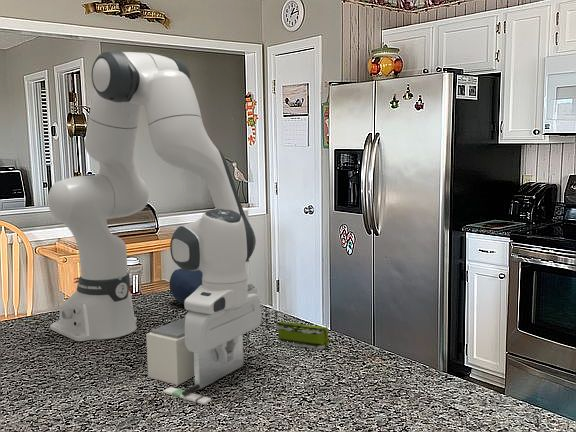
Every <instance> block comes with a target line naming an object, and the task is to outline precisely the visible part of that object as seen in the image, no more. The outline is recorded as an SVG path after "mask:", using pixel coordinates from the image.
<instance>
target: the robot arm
mask: <svg viewBox="0 0 576 432" xmlns="http://www.w3.org/2000/svg"><path fill="white" fill-rule="evenodd" d="M91 82H92V86H93V88H94V93H93V97H92V100H91V105H90V110H89V112H88V113H89V115H88V120H87V126H86V133H85V140H84V148H85V150H86V152H87V154H88V155H89V157H91V158H92V159H93V160H94V161H96V162H98V164H99V171H98V174H93V175H92V174H91V175H78V176H72V177H67V178H65V179H61V180H59V181H56V182H54V183H53V184H52V186H51V187H50V189H49V192H48V195H47V205H48V208H49V210H50V212H51V214H52V216H53V217H54V218H55V219H56V220H57V221H59V222H60V223H62V224H64V225H65V226H66V227H67V229H68V230H69V231H70V232H71V234H72V235H73V237H74V240H75V241H76V245H77V249H78V254H79V255H78V256H79V265H80V277H76V278H73V280H74V282H73V283H74V284H76V283H77V286H76V291H75V292H74V293H72V295H70V296H69V297H68V298H67V299H66V300H65V301H64V302H62V304H61V305H60V308H59V319H58V320H56V321H54V322H53V323H51V324H50V325H49V330H50V331H51V330H52V331H54V332H56V333H58V334H60V335H63V336H64V337H67V338H69V339H71V340H73V341H75V342H83V341H92V340H107V339H108V340H110V339H116V338H120V337H123V336H126V335H130V334H132V333H134V332H135V331H136V330H137V329H138V325H137V322H138V320H137V316H135V311H134V305H133V299H132V293H131V291H130V289H131V278H130V273H129V272H128V257H127V256H128V254H127V245H126V243H125V242H124V240H123V239H122V238H121V237H120V236H118V235H116V234H114V233H111V231H110V229H109V227H108V221H107V220H110V219H115V218H116V219H117V218H124V217H125V218H126V217H128V216H129V217H130V216H131V215H134V214H136V213H138V212H141V211H143V210H144V209H145V208H146V206H147V204H148V202H149V189H148V186H147V184H146V182H145V181H144V179H143V178H142V176H140V175H139V173H138V171H137V170H136V166H135V162H134V161H135V159H134V151H135V144H136V137H137V130H138V125H139V119H140V112H141V108H142V107H143V106H144V108H145V110H146V111H145V112H146V119H147V124H148V131H149V136H150V140H151V144H152V147H153V149H154V152H155V153H156V155H157V156H158V157H159V158H161V159H162V161H164V162H165V163H167V164H169V165H170V166H173V167H175V168H179V169H181V170H184V171H187V172H190V173H192V174H193V175H196V176H197V177H199V178H200V179H201V180H203V182H204V183H205V184H206V187H207V188H208V189H209V194H210V196H211V199H212V202H213V205H214V209H209V210H207V211H205V212H204V213H203V214H202V217H200V218H199V219H197V220H195V221H193V222H190V223H187V224H183V225H181V226H178V227H177V228H176V229H175V231H174V232H173V234H172V235H171V238H170V239H171V240H170V243H169V244H170V245H169V248H170V249H169V250H170V256H171V258H172V261H173V262H174V263H175V265H177V266H178V268H179V269H183V270H189V271H196V270H200V271H202V273H203V276H202V285H200V286H199V287H198V288H197V289H196V290H195V291H194V292H193V293H192V294H191V295H190V296H189V297H187V298H186V299H185V302H184V304H183V305H184V310H186V311H187V313H186V314H185V317H184V318H185V345H186V348H187V349H188V350H189V351H190V352H194V353H199V354H203V353H205V352H207V351H209V350H211V349H213V348H215V349H216V351H217V353H218V358H219V362H220V363H224V364H225V363H227V362H229V361H230V360H232V359H234V351H235V349H236V346H237V343H238V336H241V335H243V336H244V335H245V334H247V333H250V331H253V330H255V329H257V328H259V327H261V326H260V325H262V324H261V323H262V320H263V319H262V308H261V307H262V306H261V302H260V297H259V295H258V289H257V287H256V286H255V285H253V283H250V284H248V278H247V272H246V269H245V263H246V262H247V261H248V260H249V261H250V258H251V257H252V256H253V253H254V251H255V248H256V245H257V244H256V241H257V240H256V235H255V232H254V230H253V227H252V225H251V223H250V222H249V219H248V220H247V218H246V216H245V213H244V211H243V208H244V207H243V206H242V203H241V200H240V197H239V193H238V191H237V188H236V184H235V182H234V179H233V177H232V173H231V171H230V170H231V169H230V168H229V165H228V163H227V160H226V158H225V155H224V154H223V152H222V150H221V149H220V148H219V147H218V146H217V145H215V144H214V143H213V141H212V140H211V139H210V137H209V135H208V132H207V131H206V128H205V126H204V122H203V118H202V114H201V109H200V105H199V102H198V98H197V96H196V91H195V89H194V87H193V83H192V82H191V74H190V71H189V68H188V67H187V65H186V63H184V62H183V61H181V60H179V59H177V58H174V57H172V56H163V55H161V54H157V53H156V54H155V53H151V52H144V51H143V52H142V51H141V52H135V51H134V52H133V51H121V50H109V51H103V52H101V53H100V54H99V55H98V56H97V57H96V59H95V60H94V62H93V63H92V68H91ZM242 207H243V208H242ZM225 347H226V349H225Z"/></svg>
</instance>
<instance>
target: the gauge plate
mask: <svg viewBox="0 0 576 432" xmlns="http://www.w3.org/2000/svg"><path fill="white" fill-rule="evenodd" d="M225 349H226V347H225ZM243 366H244V334H243V335H241V336H238V343H237V346H236V349H235V351H234V359H232V360H230V361H229V362H227V363H225V364H224V363H220V362H219V358H218V353H217V351H216V349H215V348H213V349H211V350H209V351H207V352H205V353H203V354H199V353H194V376H195V377H194V385H193V386H191V387H190V388H187V389H185V391H184V392H182V395H183V396H186V395H188V394H189V393H193V392H195V391H197V390H201V389H203V388H205V387H207V386H209V385H211V384H212V383H215V382H216V381H218V380H219V379H222V378H223V377H225V376H226V375H229V374H230V373H232V372H234V371H237V370H238V369H240V368H241V367H243Z"/></svg>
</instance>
